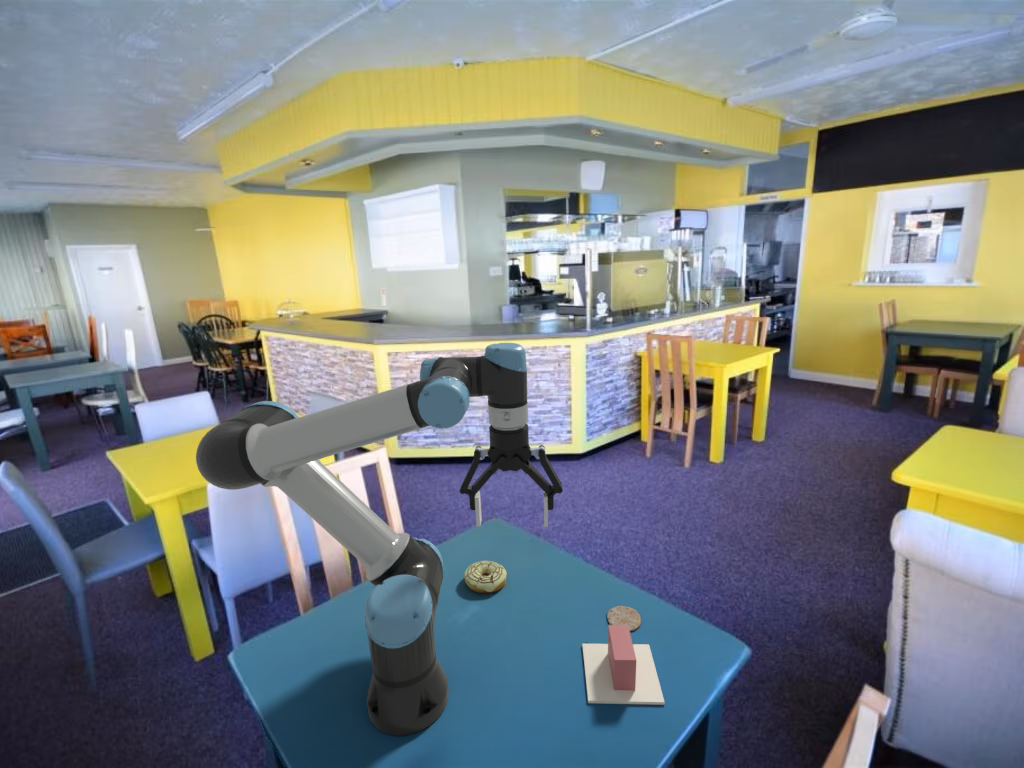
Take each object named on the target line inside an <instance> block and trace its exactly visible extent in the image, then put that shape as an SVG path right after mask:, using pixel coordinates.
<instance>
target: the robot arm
mask: <svg viewBox="0 0 1024 768" xmlns="http://www.w3.org/2000/svg"><path fill="white" fill-rule="evenodd" d="M484 349H485V350H484V351H485V352H484V354H483V355H479V356H478V355H477V356H456V357H455V356H454V357H443V356H437V357H435V358H425V359H424V360H423V361H422V362H421V365H420V370H419V379H420V380H417V381H413V382H412V383H408V384H404V385H401V386H398V387H394V388H391V389H387V390H385V391H382V392H379V393H378V392H377V393H375V394H371V395H368V396H365V397H362V398H359V399H356V400H352V401H348V402H345V403H342V404H339V405H334V406H332V407H329V408H325V409H322V410H319V411H316V412H313V413H309V414H305V415H302V416H299V415H298V414H297V413H296V412H295V411H294V410H293V409H292V408H291V407H289V406H288V405H286V404H284V403H281V402H277V401H274V400H271V401H270V400H264V401H262V400H261V401H258V402H255V403H253V404H249V405H247V406H245V407H243V408H242V409H240V410H239V411H237V412H236V413H234V414H233V415H231V416H230V417H228V418H226V419H225V420H224V421H222V422H221V423H219V424H216V425H215V426H214V427H212V428H211V429H210V430H209V431H207V432H206V433H205V434H204V436H203V437H202V438H201V440H200V441H199V443H198V445H197V448H196V454H195V463H196V466H197V469H198V471H199V473H200V474H201V477H203V479H204V480H205V481H207V483H209V484H211V485H212V486H214V487H217V488H219V489H224V490H228V491H229V490H232V491H233V490H234V491H235V490H240V489H247V488H250V487H254V486H258V485H259V484H261V485H262V487H265V488H266V487H267V488H268V487H277V488H278V489H279V490H280V491H281V492H282V493H284V494H285V495H286V496H287V497H289V499H290V500H291V501H293V502H294V503H295V504H296V505H297V506H298V507H299V508H301V510H302V511H303V512H305V513H306V514H307V515H308V516H309V517H310V518H312V519H313V521H315V522H316V524H318V525H319V526H320V527H321V528H323V529H324V531H326V532H327V533H328V534H329V535H330V536H331V537H332V538H334V540H336V541H337V542H338V544H340V545H341V546H342V547H343V548H344V549H346V550H347V552H349V553H350V554H351V555H352V556H353V557H354V558H356V560H358V561H359V562H360V563H361V564H362V565H363V566H364V567H366V574H365V575H366V576H365V577H366V580H367V581H369V582H370V583H371V584H372V585H373V586H374V588H373V589H372V590H371V592H370V593H369V595H368V597H367V599H366V602H365V614H364V619H365V624H364V625H365V628H366V630H367V631H366V632H367V637H368V638H367V640H368V647H369V652H370V659H371V660H370V661H371V667H372V675H371V679H370V682H369V683H370V684H369V687H368V690H367V695H366V705H367V707H366V708H367V712H368V713H367V714H368V717H369V720H370V721H371V723H372V725H373V726H374V727H375V728H376V729H377V730H378V731H381V732H382V733H384V734H387V735H390V736H409V735H413V734H416V733H419V732H422V730H424V729H426V728H428V727H430V726H431V725H432V724H433V723H435V722H436V721H437V720H438V719H439V718H440V717H441V715H442V713H443V712H444V711H445V708H446V707H447V704H448V701H449V697H450V696H449V694H450V693H449V683H448V677H447V675H446V672H445V671H444V668H443V667H442V665H441V663H440V661H439V659H438V658H437V657H438V656H437V652H436V651H437V650H436V642H435V619H436V616H437V615H436V614H437V607H438V603H439V598H440V592H441V586H442V585H443V580H444V560H443V556H442V554H441V552H440V550H439V549H438V548H437V546H436V545H434V544H433V543H432V542H431V541H429V540H427V539H425V538H417V537H412V536H411V535H410V534H409V533H408V532H399V533H397V532H396V531H394V530H393V528H391V527H390V526H389V525H388V524H387V523H386V522H385V521H384V520H383V519H382V518H381V517H380V516H379V515H377V514H376V513H375V511H373V510H372V509H371V508H370V507H369V506H368V505H367V504H366V503H365V502H364V501H362V499H360V498H359V496H357V494H355V493H354V492H353V491H352V490H351V488H349V487H348V486H346V484H345V483H344V482H342V480H341V479H339V478H338V477H337V476H336V475H335V474H334V473H333V472H332V471H330V469H329V468H328V467H326V466H325V464H323V462H321V461H320V459H324V458H325V459H326V458H328V457H331V456H334V455H337V454H341V453H344V452H347V451H351V450H354V449H357V448H361V447H364V446H366V445H372V444H373V443H377V442H380V441H384V440H388V439H391V438H394V437H396V436H397V437H398V436H401V435H404V434H406V433H407V434H408V433H410V432H413V431H417V430H421V429H423V428H427V427H430V426H431V427H432V428H436V429H443V430H444V429H449V428H452V427H454V426H456V425H457V424H459V423H460V422H461V420H462V419H463V418H464V416H465V414H466V413H467V411H468V409H469V406H470V403H471V400H470V398H477V397H487V411H488V412H487V413H488V415H487V416H488V424H489V428H488V429H489V430H488V432H489V435H488V436H489V448H482V446H480V445H477V446H475V449H474V451H473V460H472V462H471V464H470V465H469V468H468V471H467V472H466V474H465V477H464V479H463V480H462V483H461V485H460V488H459V493H460V494H461V495H467V496H468V497H469V510H471V511H475V522H476V524H475V526H476V528H481V525H482V522H483V521H482V516H483V515H482V503H481V502H482V501H481V500H482V499H481V491H480V490H481V489H482V487H483V486H484V485H485V484H487V482H488V481H489V480H490V478H491V477H492V476H493V475H494V474H495V473H497V471H498V470H500V471H501V472H509V471H512V472H518V471H520V470H522V471H523V472H524V474H526V475H528V477H530V478H531V480H532V481H533V482H534V483H535V484H536V485H538V487H539V488H540V489H541V490H542V491H543V521H544V523H543V525H544V528H548V527H549V511H553V510H554V504H555V503H554V496H555V495H556V494H562V493H563V483H562V481H561V480H560V478H559V476H558V474H557V473H556V471H555V469H554V467H553V466H552V463H551V462H550V460H549V459H548V456H547V455H546V454H547V453H546V447H545V446H544V445H543V444H540V445H539V446H538V447H533V448H532V447H531V446H530V441H529V440H530V439H529V425H528V422H529V407H528V406H529V404H528V367H527V366H528V365H527V356H526V349H525V347H524V346H523V345H522V344H520V343H515V342H499V343H492V344H489V345H487V346H486V347H485V348H484ZM486 456H487V457H488V458H489V459H490V461H491V462H490V463H489V465H488V467H487V468H486V469H484V471H483V472H482V474H480V476H479V477H478V478H477V480H475V481H474V482H473V484H471V485H470V483H471V481H472V479H473V477H474V475H475V473H476V471H477V469H478V466H479V464H480V462H481V461H482V460H484V459H485V457H486ZM532 456H534V458H535V459H536V460H539V462H540V465H541V466H542V468H543V471H544V472H545V474H546V475H547V477H548V479H549V481H550V482H549V481H548V480H547V479H546V478H545V477H544V476H543V474H541V472H540V471H538V469H536V467H535V466H534V465H533V464H532V462H531V461H530V460H529V459H531V457H532Z"/></svg>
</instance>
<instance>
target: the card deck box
mask: <svg viewBox="0 0 1024 768" xmlns="http://www.w3.org/2000/svg"><path fill="white" fill-rule="evenodd" d="M607 627H608V628H607V632H608V633H607V644H608V657H609V663H610V669H611V675H612V681H613V687H614V690H635V686H636V656H635V652H634V648H633V640H632V636H631V631H629V626H628V625H610V624H608V626H607Z"/></svg>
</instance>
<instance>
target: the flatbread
mask: <svg viewBox="0 0 1024 768" xmlns="http://www.w3.org/2000/svg"><path fill="white" fill-rule="evenodd" d="M606 617H607V619H606V620H607V622H608V623H609V625H628V626H629V631H630V632H633V631H635V630H637V629H638V628H639V627H640V626H641V624H642V617H641V616H640V613H639V612H638V611H637V610H636V609H635V608H633V607H630V606H624V605H617V606H614V607H612V608H610V609H609V610H608V611H607V616H606Z"/></svg>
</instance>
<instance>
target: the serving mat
mask: <svg viewBox="0 0 1024 768" xmlns="http://www.w3.org/2000/svg"><path fill="white" fill-rule="evenodd" d="M581 645H582V656H583V662H584V663H583V664H584V674H585V685H586V694H587V695H586V697H587V703H588V704H607V705H610V704H613V705H615V704H616V705H657V706H658V705H659V706H660V705H661V706H665V698H664V695H663V692H662V687H661V683H660V680H659V677H658V676H659V675H658V673H657V669H656V665H655V661H654V658H653V654H652V650H651V647H650V644H648V643H647V644H643V643H642V644H641V643H640V644H638V643H635V644H633V648H634V652H635V656H636V686H635V690H614V687H613V681H612V675H611V669H610V663H609V657H608V643H582V644H581Z"/></svg>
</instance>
